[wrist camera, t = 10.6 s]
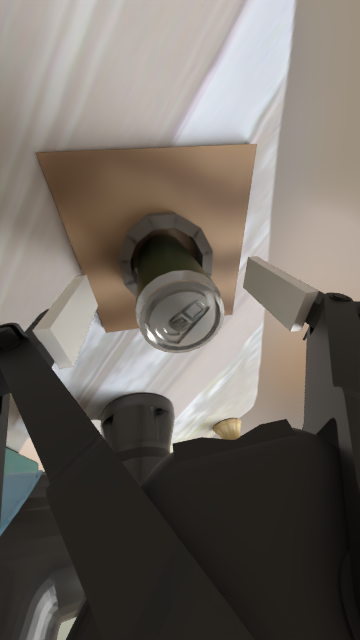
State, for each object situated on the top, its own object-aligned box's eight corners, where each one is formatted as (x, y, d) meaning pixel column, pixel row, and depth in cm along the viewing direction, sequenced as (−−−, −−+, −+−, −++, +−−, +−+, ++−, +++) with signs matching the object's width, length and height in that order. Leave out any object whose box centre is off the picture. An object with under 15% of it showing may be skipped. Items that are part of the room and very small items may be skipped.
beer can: (161, 220, 18) (185, 253, 8) (196, 258, 20) (245, 316, 11) (127, 261, 19) (114, 328, 10) (164, 290, 22) (182, 366, 12)
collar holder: (229, 310, 27) (241, 326, 24) (107, 328, 25) (102, 348, 22) (251, 146, 16) (278, 134, 13) (41, 154, 14) (12, 143, 11)
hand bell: (236, 429, 54) (265, 503, 41) (210, 433, 52) (232, 511, 40) (244, 416, 49) (280, 494, 37) (216, 420, 48) (243, 503, 35)
